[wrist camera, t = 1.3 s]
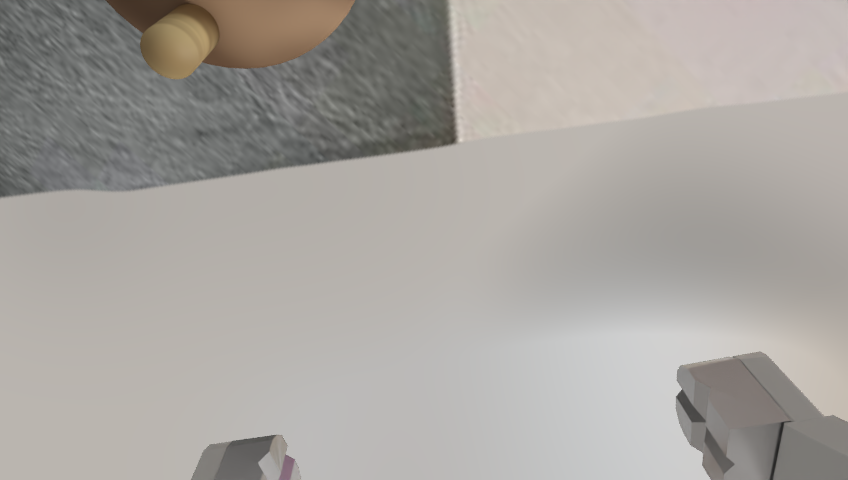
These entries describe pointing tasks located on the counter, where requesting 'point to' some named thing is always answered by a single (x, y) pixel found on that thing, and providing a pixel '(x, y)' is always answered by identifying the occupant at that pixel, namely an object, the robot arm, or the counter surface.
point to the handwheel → (228, 31)
